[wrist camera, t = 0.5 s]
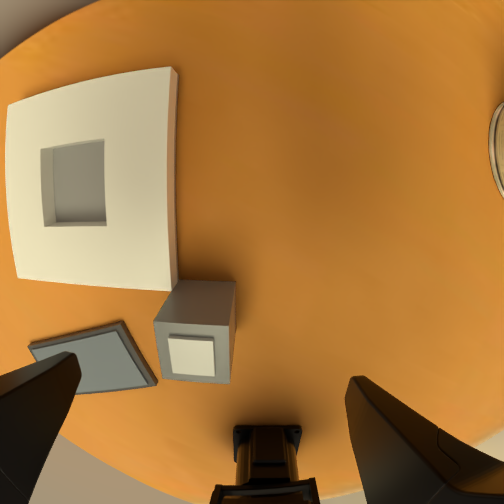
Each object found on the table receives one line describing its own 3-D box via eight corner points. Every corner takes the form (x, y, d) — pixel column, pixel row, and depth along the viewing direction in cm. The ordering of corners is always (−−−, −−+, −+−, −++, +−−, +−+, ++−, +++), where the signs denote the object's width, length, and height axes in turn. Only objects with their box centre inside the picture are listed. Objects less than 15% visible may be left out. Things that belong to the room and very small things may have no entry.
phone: (159, 377, 24) (155, 387, 23) (64, 389, 25) (58, 396, 24) (125, 317, 22) (119, 325, 21) (33, 340, 23) (26, 347, 22)
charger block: (235, 331, 22) (229, 387, 16) (182, 328, 22) (161, 381, 16) (235, 281, 21) (228, 329, 15) (178, 279, 21) (151, 323, 15)
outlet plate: (178, 279, 21) (171, 291, 19) (31, 269, 21) (17, 277, 19) (178, 75, 17) (170, 66, 15) (23, 107, 17) (8, 105, 15)
